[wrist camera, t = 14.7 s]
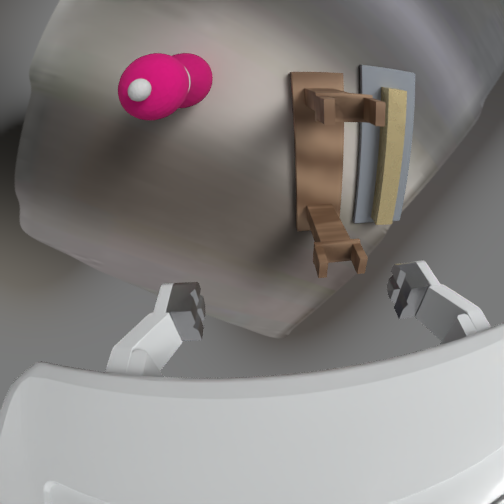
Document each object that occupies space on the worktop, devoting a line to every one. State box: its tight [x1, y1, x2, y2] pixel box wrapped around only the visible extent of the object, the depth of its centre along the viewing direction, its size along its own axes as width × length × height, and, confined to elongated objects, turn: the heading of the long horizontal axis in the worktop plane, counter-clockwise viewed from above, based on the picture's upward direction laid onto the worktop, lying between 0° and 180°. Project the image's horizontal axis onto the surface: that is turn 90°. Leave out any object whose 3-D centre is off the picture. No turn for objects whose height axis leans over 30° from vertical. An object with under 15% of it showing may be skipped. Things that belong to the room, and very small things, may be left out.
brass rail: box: [371, 87, 407, 225], centre depth 36 cm, size 22×3×2 cm, turn 5°
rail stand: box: [290, 72, 386, 278], centre depth 33 cm, size 25×7×15 cm, turn 5°
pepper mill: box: [118, 53, 212, 120], centre depth 23 cm, size 7×7×20 cm
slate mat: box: [353, 65, 415, 223], centre depth 37 cm, size 26×9×1 cm, turn 5°
